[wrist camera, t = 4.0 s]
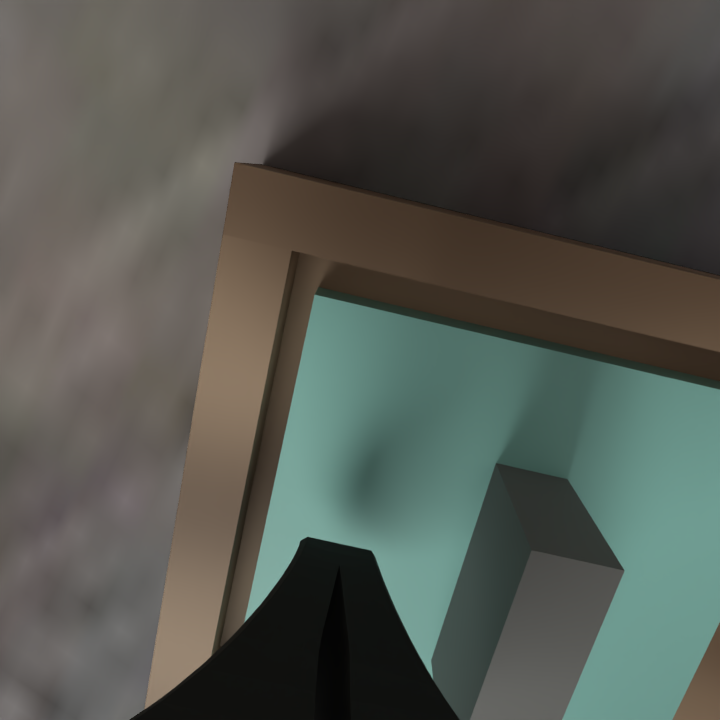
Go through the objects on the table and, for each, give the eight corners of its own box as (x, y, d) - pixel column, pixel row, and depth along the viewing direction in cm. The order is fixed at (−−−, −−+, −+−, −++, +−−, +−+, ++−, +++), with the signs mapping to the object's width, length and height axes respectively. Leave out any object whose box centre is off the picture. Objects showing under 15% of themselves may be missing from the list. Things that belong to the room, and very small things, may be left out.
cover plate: (624, 761, 16) (699, 941, 12) (233, 680, 15) (187, 841, 12) (794, 399, 13) (962, 489, 9) (318, 287, 12) (294, 334, 9)
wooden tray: (664, 799, 17) (710, 900, 15) (167, 697, 17) (132, 785, 14) (906, 320, 13) (1024, 353, 11) (261, 164, 13) (234, 162, 10)
